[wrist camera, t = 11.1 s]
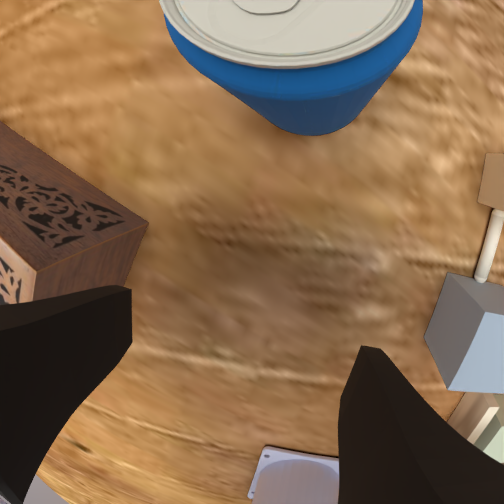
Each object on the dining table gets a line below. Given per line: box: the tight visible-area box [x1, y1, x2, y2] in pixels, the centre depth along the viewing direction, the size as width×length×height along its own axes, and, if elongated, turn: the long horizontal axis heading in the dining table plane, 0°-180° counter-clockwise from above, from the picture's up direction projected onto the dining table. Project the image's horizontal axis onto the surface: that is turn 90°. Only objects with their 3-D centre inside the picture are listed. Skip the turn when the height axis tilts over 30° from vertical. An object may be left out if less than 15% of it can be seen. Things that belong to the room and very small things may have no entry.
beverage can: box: [159, 0, 423, 136], centre depth 10 cm, size 6×6×12 cm
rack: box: [447, 392, 504, 465], centre depth 18 cm, size 8×17×4 cm, turn 81°
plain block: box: [473, 394, 504, 463], centre depth 17 cm, size 4×4×4 cm
